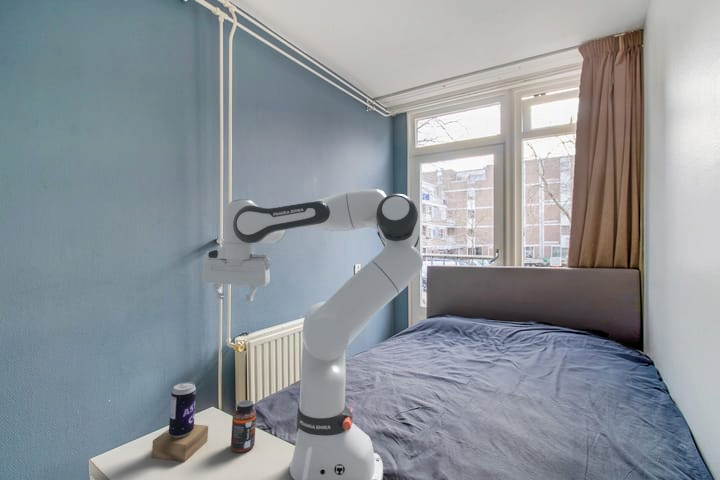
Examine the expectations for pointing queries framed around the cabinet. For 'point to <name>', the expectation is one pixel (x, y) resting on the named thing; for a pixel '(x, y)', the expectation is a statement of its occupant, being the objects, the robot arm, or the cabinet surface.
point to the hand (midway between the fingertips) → (234, 299)
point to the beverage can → (182, 409)
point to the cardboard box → (179, 444)
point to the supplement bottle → (243, 427)
